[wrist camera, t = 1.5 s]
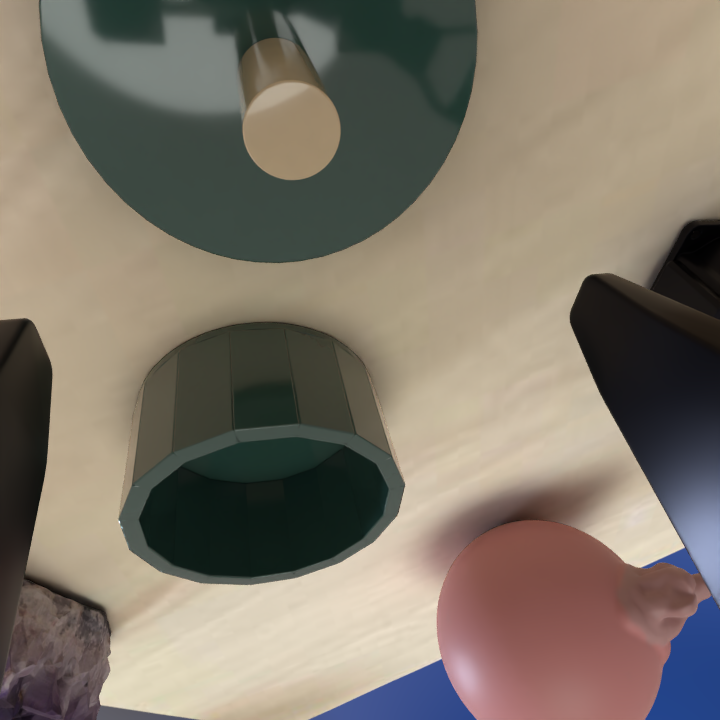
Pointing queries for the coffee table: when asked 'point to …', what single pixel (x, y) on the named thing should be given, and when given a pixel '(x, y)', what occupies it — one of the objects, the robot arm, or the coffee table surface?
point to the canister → (257, 458)
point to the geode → (55, 659)
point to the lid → (263, 112)
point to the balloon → (558, 625)
